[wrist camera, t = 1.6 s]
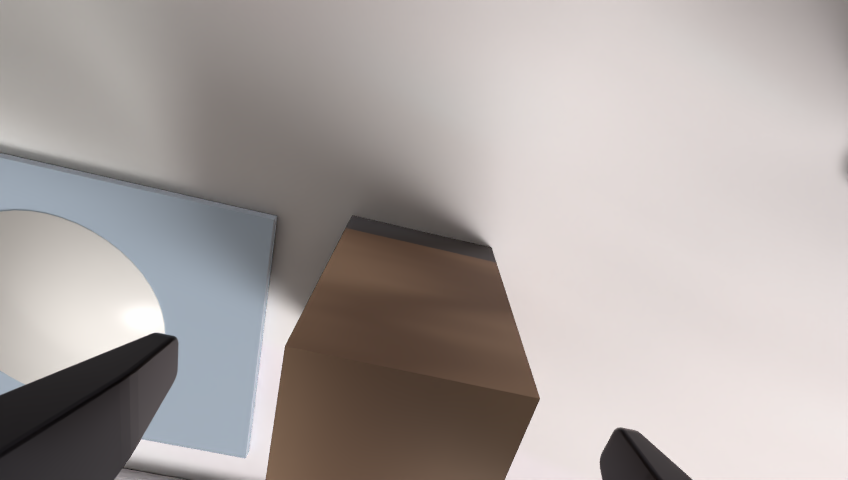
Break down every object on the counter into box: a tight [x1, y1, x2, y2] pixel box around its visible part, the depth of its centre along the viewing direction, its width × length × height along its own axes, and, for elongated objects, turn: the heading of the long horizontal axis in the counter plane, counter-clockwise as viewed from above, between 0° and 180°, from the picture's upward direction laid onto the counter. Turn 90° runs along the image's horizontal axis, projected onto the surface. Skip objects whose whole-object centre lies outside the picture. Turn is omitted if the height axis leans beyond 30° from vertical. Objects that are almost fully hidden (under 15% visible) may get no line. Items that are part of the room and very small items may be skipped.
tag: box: [0, 153, 277, 458], centre depth 13 cm, size 12×9×1 cm
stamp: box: [266, 216, 540, 480], centre depth 10 cm, size 4×4×6 cm
